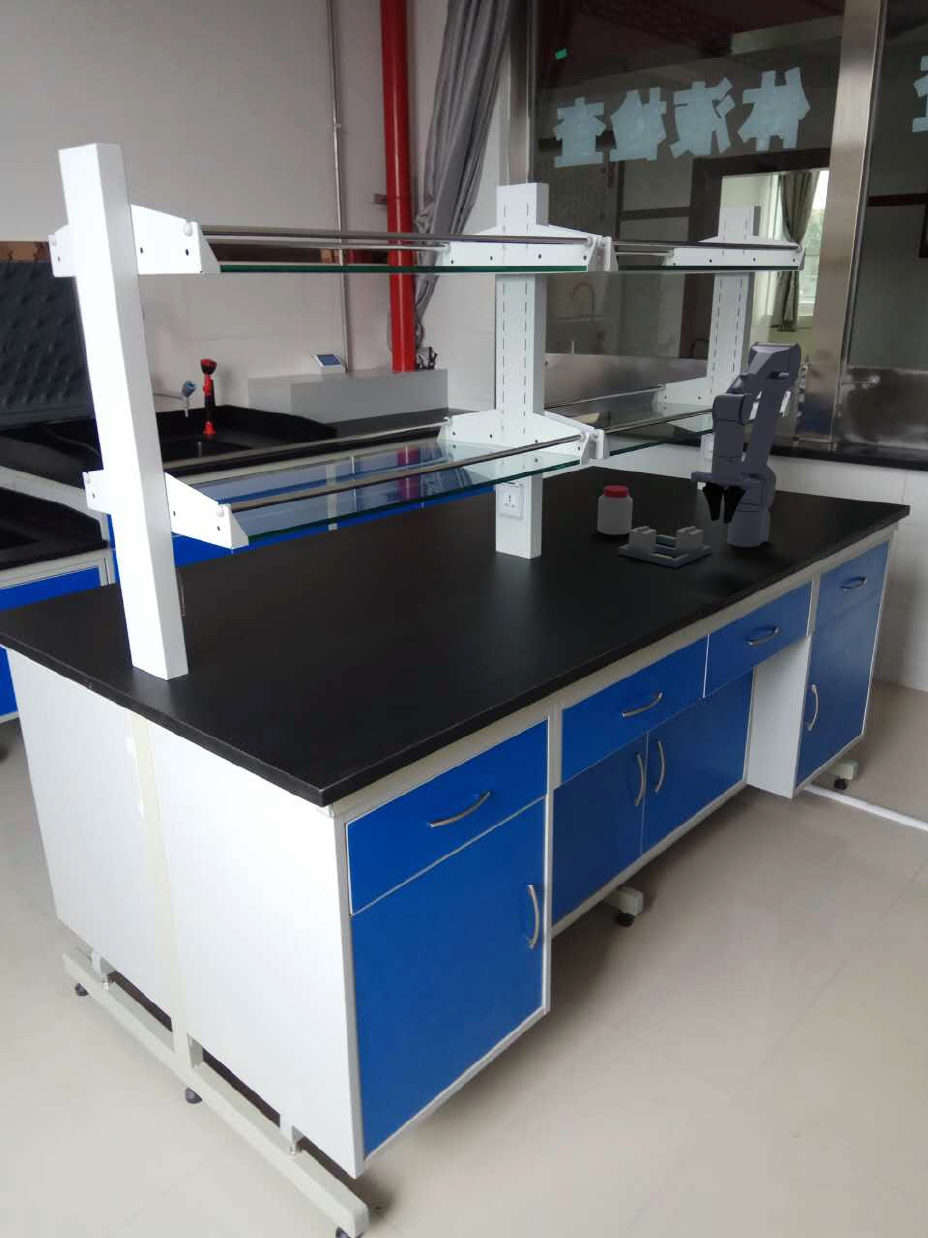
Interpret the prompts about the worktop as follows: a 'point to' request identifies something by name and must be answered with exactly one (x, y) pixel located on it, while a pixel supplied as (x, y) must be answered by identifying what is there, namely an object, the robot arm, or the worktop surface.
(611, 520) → the pill bottle
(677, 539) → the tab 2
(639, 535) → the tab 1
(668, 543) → the dark blue tray
